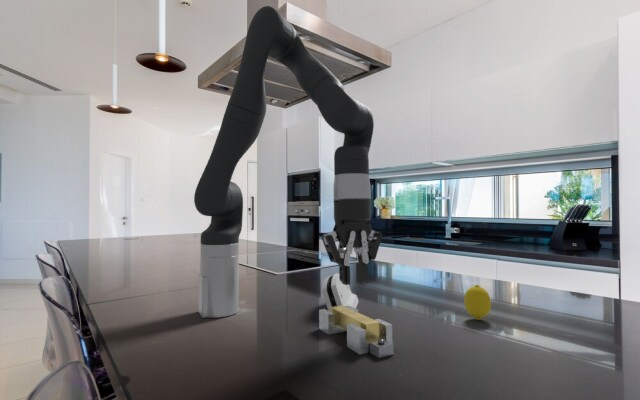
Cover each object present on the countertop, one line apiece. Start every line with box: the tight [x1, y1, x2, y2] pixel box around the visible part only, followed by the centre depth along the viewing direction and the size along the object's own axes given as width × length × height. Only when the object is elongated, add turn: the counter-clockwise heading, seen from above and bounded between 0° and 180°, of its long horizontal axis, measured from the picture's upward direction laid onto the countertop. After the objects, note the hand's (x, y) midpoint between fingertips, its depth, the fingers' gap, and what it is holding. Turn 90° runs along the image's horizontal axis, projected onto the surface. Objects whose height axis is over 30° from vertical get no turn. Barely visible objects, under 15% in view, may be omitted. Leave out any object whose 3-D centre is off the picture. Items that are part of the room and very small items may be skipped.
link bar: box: [330, 305, 379, 341], centre depth 67 cm, size 3×13×3 cm, turn 28°
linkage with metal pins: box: [318, 305, 394, 359], centre depth 67 cm, size 7×21×4 cm, turn 28°
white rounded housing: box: [321, 273, 359, 311], centre depth 88 cm, size 17×5×10 cm, turn 167°
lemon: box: [463, 284, 492, 321], centre depth 78 cm, size 6×6×8 cm
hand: (353, 282), depth 68 cm, fingers open, 3 cm apart
